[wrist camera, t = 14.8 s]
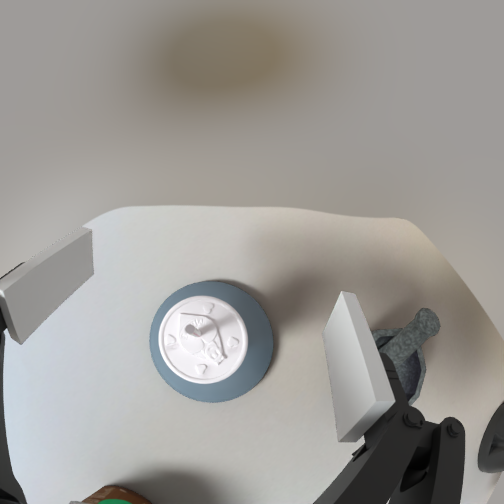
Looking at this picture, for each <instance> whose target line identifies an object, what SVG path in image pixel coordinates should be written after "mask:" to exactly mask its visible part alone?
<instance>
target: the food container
mask: <svg viewBox="0 0 504 504" xmlns="http://www.w3.org/2000/svg"><path fill="white" fill-rule="evenodd" d="M69 504H152V503H151V502H150V501H149V500H147V499H146V498H144V497H143V496H141V495H140V494H138V493H136V492H134V491H132V490H129V489H126V488H123V487H119V486H104V487H102V488H101V489H99V490H98V491H97V492H95V493H94V494H92V495H91V496H89V497H88V498H86V499H85V500H83V501H81V502H78V501H71V502H70V503H69Z"/></svg>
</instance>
